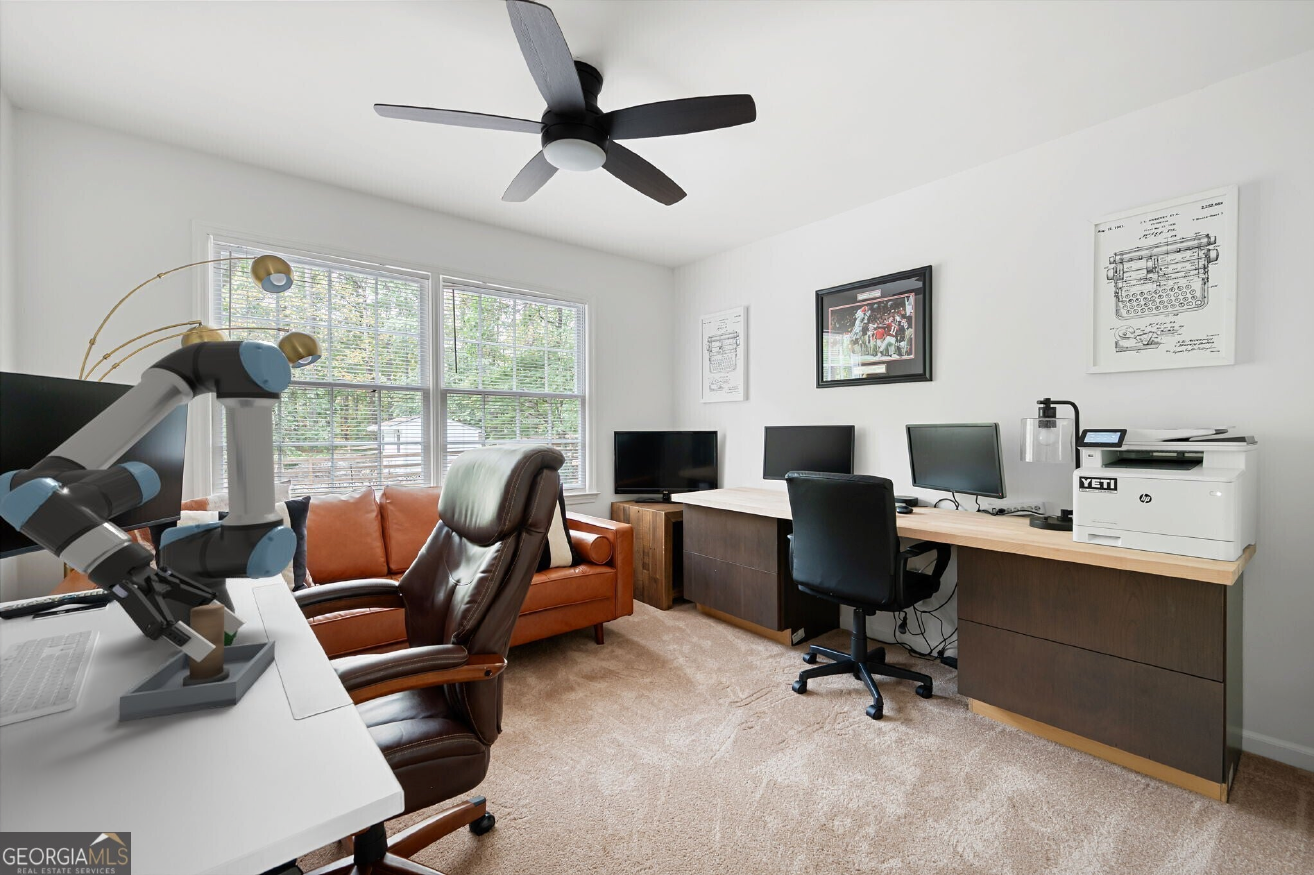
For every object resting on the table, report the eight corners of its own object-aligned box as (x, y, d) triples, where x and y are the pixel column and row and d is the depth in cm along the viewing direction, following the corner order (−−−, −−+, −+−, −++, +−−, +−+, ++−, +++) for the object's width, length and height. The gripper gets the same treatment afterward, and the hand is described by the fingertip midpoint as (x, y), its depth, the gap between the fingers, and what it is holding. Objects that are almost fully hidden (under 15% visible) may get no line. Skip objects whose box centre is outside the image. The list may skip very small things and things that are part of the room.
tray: (181, 670, 98) (182, 651, 98) (274, 659, 103) (274, 640, 103) (119, 721, 79) (119, 696, 79) (235, 704, 84) (236, 681, 84)
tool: (192, 676, 93) (193, 605, 93) (234, 671, 95) (236, 601, 95) (175, 690, 87) (177, 614, 87) (221, 684, 89) (222, 610, 90)
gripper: (131, 562, 98) (232, 635, 103) (32, 595, 74) (168, 688, 79) (169, 530, 100) (266, 604, 105) (84, 553, 76) (214, 646, 81)
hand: (224, 640), depth 92 cm, fingers open, 13 cm apart
